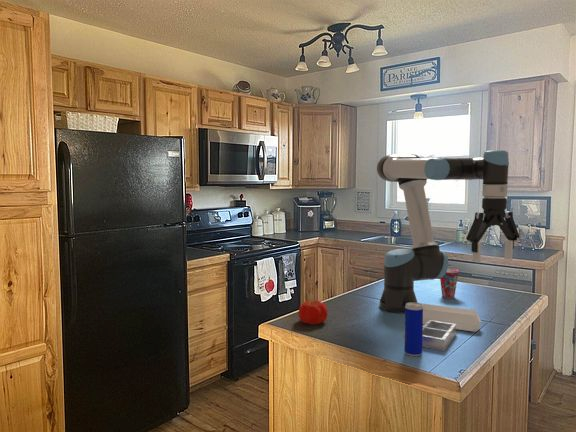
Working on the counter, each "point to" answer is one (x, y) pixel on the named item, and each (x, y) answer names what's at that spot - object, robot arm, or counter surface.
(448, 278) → the cup
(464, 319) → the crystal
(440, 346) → the divided tray
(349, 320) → the counter surface
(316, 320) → the tomato
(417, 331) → the beverage can
